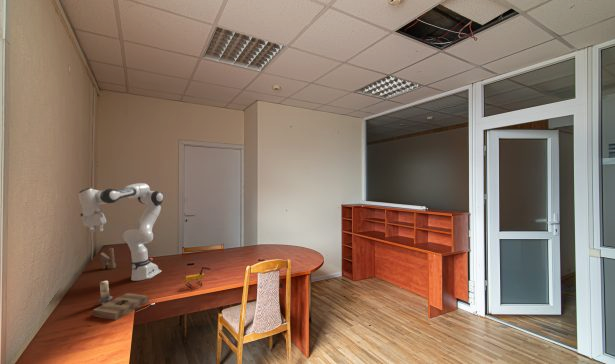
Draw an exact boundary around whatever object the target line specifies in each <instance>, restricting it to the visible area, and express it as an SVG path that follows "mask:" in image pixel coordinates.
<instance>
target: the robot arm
mask: <svg viewBox="0 0 615 364" xmlns="http://www.w3.org/2000/svg"><path fill="white" fill-rule="evenodd" d="M150 188H151V187H150V186H149V185H148V184H147V183H144V182H140V183H139V182H137V183H133V184H129V185H125V186H124V188H121V189H115V188H107V189H103V190H98V189H94V188H92V187H89V188H88V187H87V188H84V189H82V190H79V192H78V198H79V199H78V200H79V203H80V205H81V208H82V211H81V213H79V216H80V217H81V221H82V224H83V226H84V227H88V228H89V230H90V232H91V233H95V232H96V228H94V227H95V226H98V227H99V228H98V231H99V232H103V231H104V225H105V224H107V219H106V216H105V214H104V213H103V212H101V210H100V205H107V204H114V203H116V202H117V201H119V200H120V199H124V198H127V199H137V201H138V202H139V203H141V204H143V205H146V208H145V210H144V211H143V213H142V215H141V216H140V218H139V221H138V223H139V228H137V229H136V228H131V229H127V230H126V231H124V233H123V234H122V239H123V241H124V242H126V244H127V247H128V248H129V250H130V254H131V261H130V262H131V263H130V264H131V278H130V280H131V281H134V282H135V281H136V282H137V281H144V280H149V279H151V278H154V277H155V276H156V275H158V274H161V272H162V270H161V269H159V266H158V265H157V264H156V263H153V262H152V261H153V260H154V259H153V258H152V257H150V258H149V253H148V248H147V247H146V246H145V245H144V244H149V243H151V242H153V239H154V232H153V227H154V225H155V223H156V221H157V218H158V217H159V215H160V213H161V210H162V207H161V205H162V203H163V202H164V198H165V197H164V193H163V192H162V191H158V190H151V189H150Z"/></svg>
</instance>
